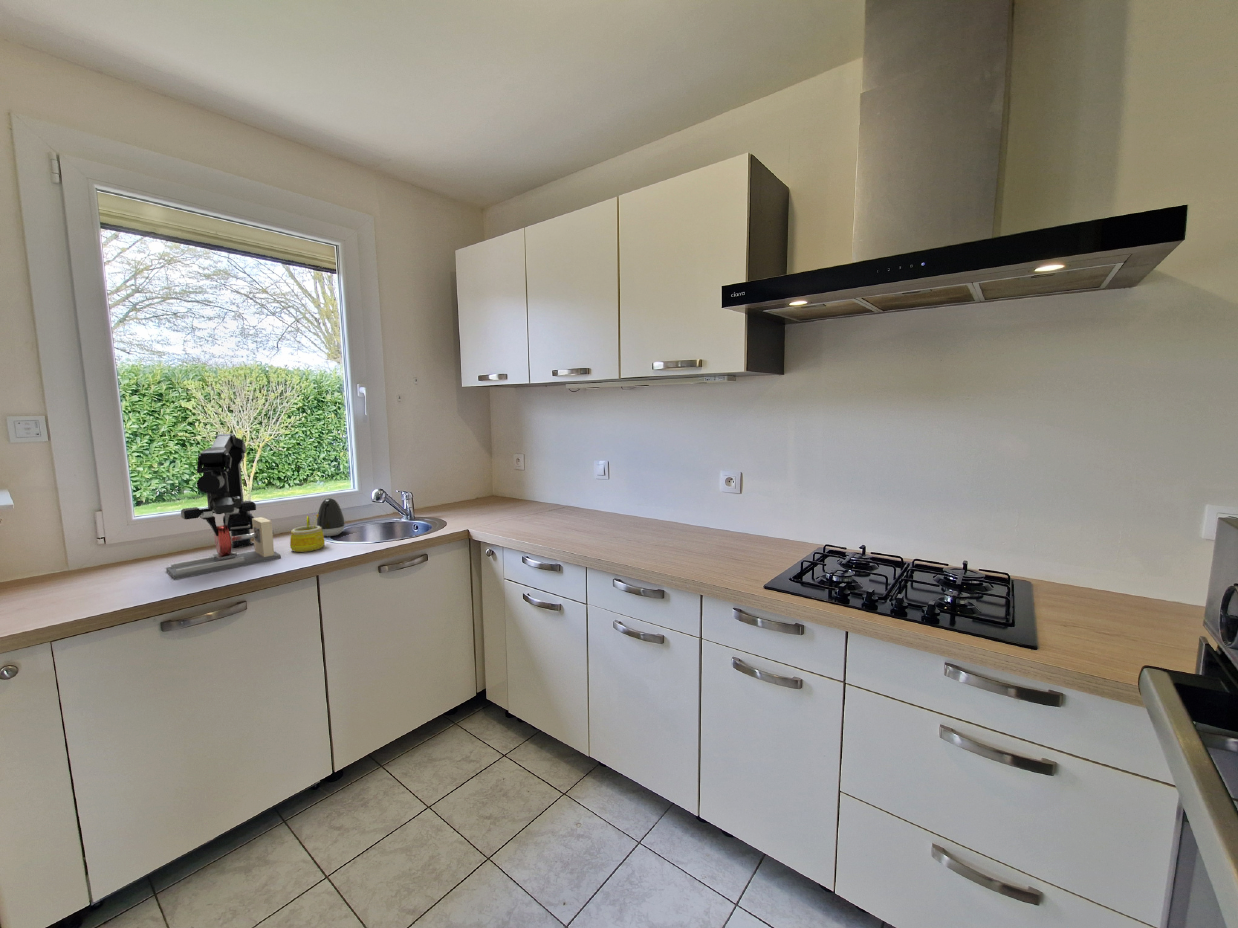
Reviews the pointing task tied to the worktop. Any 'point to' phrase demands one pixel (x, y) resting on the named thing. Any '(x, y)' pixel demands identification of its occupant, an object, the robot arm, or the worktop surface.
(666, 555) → the worktop surface
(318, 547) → the yellow birthday cake
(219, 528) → the red wheel on axle
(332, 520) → the dark grey tall dome
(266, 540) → the block
